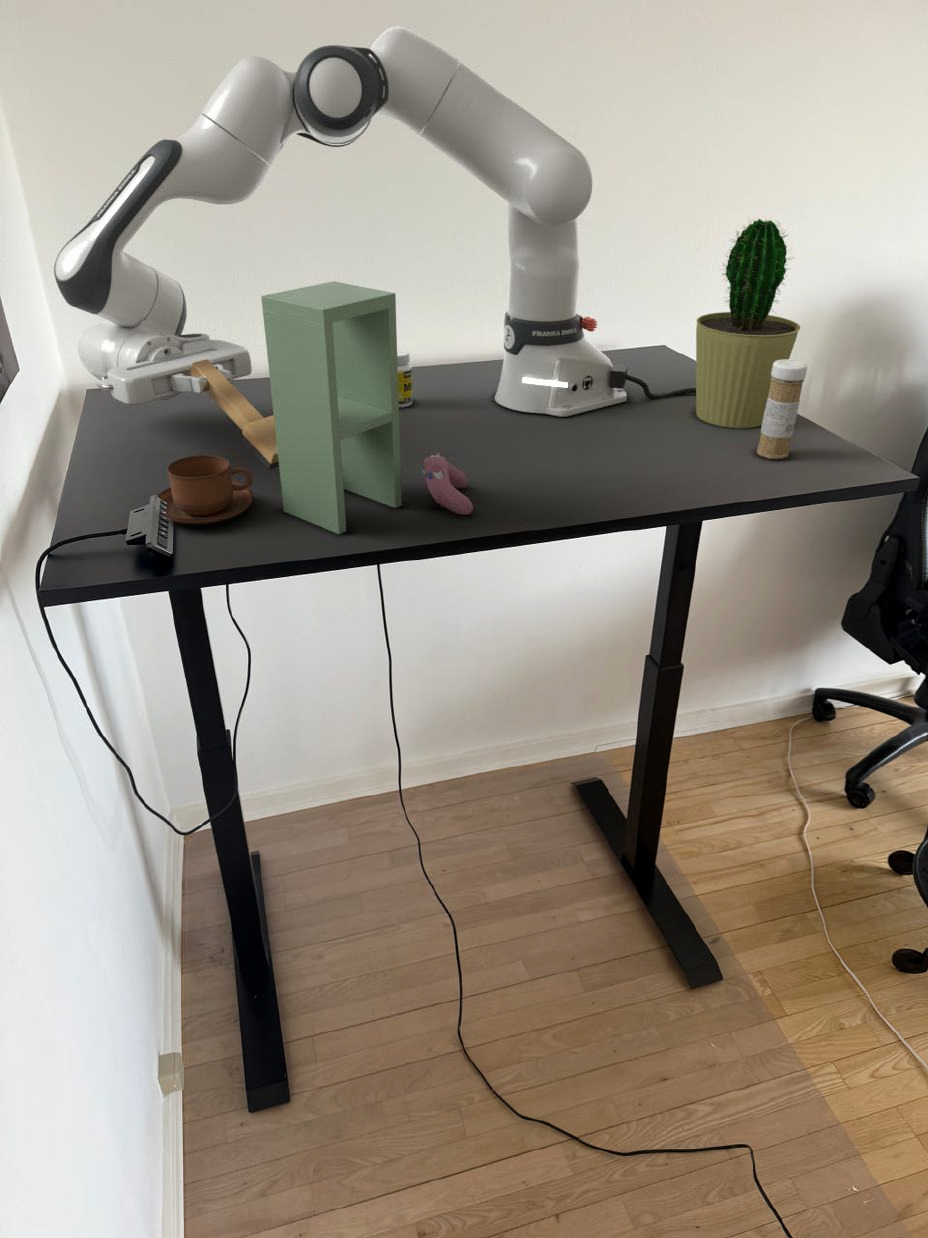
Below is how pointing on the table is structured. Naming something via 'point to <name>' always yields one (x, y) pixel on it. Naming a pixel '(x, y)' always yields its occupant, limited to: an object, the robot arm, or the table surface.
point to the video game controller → (446, 485)
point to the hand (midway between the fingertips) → (216, 382)
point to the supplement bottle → (404, 378)
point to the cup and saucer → (205, 490)
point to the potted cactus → (744, 333)
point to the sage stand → (334, 398)
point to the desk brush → (241, 414)
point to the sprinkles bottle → (781, 408)
